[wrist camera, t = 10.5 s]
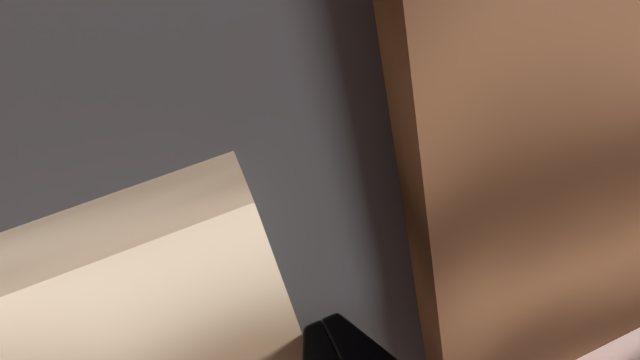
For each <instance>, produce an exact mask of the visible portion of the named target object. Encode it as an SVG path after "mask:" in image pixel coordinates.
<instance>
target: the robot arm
mask: <svg viewBox="0 0 640 360" xmlns="http://www.w3.org/2000/svg"><path fill="white" fill-rule="evenodd" d="M302 360H398V359H396V358H395V357H394V356H393V355H391V354H390V353H389V352H388V351H386V350H385V349H384V348H382V347H381V346H380V345H379V344H377V343H376V342H375V341H374V340H372V339H371V338H370V337H369V336H367V335H366V334H365V333H364V332H362V331H361V330H360V329H359V328H357V327H356V326H355V325H353V324H352V323H351V322H350V321H348V320H347V319H346V318H345V317H343V316H342V315H341V314H339V313H334V314H332V315H329V316H327V317H325V318H323V319H322V320H318V321H316V322H313V323H311V324H309V325H306V326H305V327H304V330H303V353H302Z"/></svg>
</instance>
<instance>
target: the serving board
mask: <svg viewBox="0 0 640 360" xmlns="http://www.w3.org/2000/svg"><path fill="white" fill-rule="evenodd" d="M373 6H374V12H375V19H376V26H377V33H378V40H379V46H380V53H381V60H382V67H383V73H384V80H385V87H386V94H387V101H388V107H389V114H390V121H391V128H392V134H393V141H394V148H395V155H396V162H397V168H398V175H399V182H400V189H401V195H402V202H403V209H404V216H405V223H406V229H407V236H408V243H409V250H410V256H411V263H412V270H413V277H414V284H415V290H416V297H417V304H418V311H419V317H420V324H421V331H422V338H423V345H424V351H425V358H426V360H576V359H578V358H580V357H582V356H584V355H586V354H588V353H590V352H592V351H593V350H595V349H597V348H599V347H601V346H603V345H605V344H607V343H609V342H611V341H613V340H615V339H617V338H619V337H621V336H623V335H625V334H627V333H629V332H631V331H633V330H635V329H637V328H639V327H640V0H373Z"/></svg>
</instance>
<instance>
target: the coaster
mask: <svg viewBox="0 0 640 360" xmlns="http://www.w3.org/2000/svg"><path fill="white" fill-rule="evenodd" d="M302 353H303V335H302V332H301V329H300V326H299V324H298V321H297V318H296V315H295V313H294V310H293V307H292V304H291V302H290V299H289V296H288V293H287V291H286V288H285V285H284V282H283V280H282V277H281V274H280V271H279V269H278V266H277V263H276V260H275V258H274V255H273V252H272V249H271V246H270V244H269V241H268V238H267V235H266V233H265V230H264V227H263V224H262V222H261V219H260V216H259V213H258V211H257V208H256V205H255V202H254V200H253V197H252V195H251V192H250V190H249V188H248V185H247V183H246V180H245V178H244V175H243V173H242V170H241V168H240V165H239V163H238V160H237V158H236V155H235V153H234V151H231V152H229V153H226V154H223V155H220V156H217V157H214V158H211V159H209V160H206V161H203V162H200V163H197V164H194V165H191V166H189V167H186V168H183V169H180V170H177V171H174V172H171V173H169V174H166V175H163V176H160V177H157V178H154V179H152V180H149V181H146V182H143V183H140V184H137V185H134V186H132V187H129V188H126V189H123V190H120V191H117V192H114V193H112V194H109V195H106V196H103V197H100V198H97V199H94V200H92V201H89V202H86V203H83V204H80V205H77V206H75V207H72V208H69V209H66V210H63V211H60V212H57V213H55V214H52V215H49V216H46V217H43V218H40V219H37V220H35V221H32V222H29V223H26V224H23V225H20V226H17V227H15V228H12V229H9V230H6V231H3V232H0V360H302Z"/></svg>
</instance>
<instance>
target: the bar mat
mask: <svg viewBox="0 0 640 360" xmlns="http://www.w3.org/2000/svg"><path fill="white" fill-rule="evenodd" d="M231 151H234V153H235V155H236V158H237V160H238V163H239V165H240V168H241V170H242V173H243V175H244V178H245V180H246V183H247V185H248V188H249V190H250V192H251V195H252V197H253V200H254V202H255V205H256V208H257V211H258V213H259V216H260V219H261V222H262V224H263V227H264V230H265V233H266V235H267V238H268V241H269V244H270V246H271V249H272V252H273V255H274V258H275V260H276V263H277V266H278V269H279V271H280V274H281V277H282V280H283V282H284V285H285V288H286V291H287V293H288V296H289V299H290V302H291V304H292V307H293V310H294V313H295V315H296V318H297V321H298V324H299V326H300V329H301V332H302V335H303V330H304V327H305V326H306V325H309V324H311V323H313V322H316V321H318V320H322V319H323V318H325V317H327V316H329V315H332V314H334V313H339V314H341V315H342V316H343V317H345V318H346V319H347V320H348V321H350V322H351V323H352V324H353V325H355V326H356V327H357V328H359V329H360V330H361V331H362V332H364V333H365V334H366V335H367V336H369V337H370V338H371V339H372V340H374V341H375V342H376V343H377V344H379V345H380V346H381V347H382V348H384V349H385V350H386V351H388V352H389V353H390V354H391V355H393V356H394V357H395V358H396V359H398V360H426V358H425V351H424V345H423V338H422V331H421V324H420V317H419V311H418V304H417V297H416V290H415V284H414V277H413V270H412V263H411V256H410V250H409V243H408V236H407V229H406V223H405V216H404V209H403V202H402V195H401V189H400V182H399V175H398V168H397V162H396V155H395V148H394V141H393V134H392V128H391V121H390V114H389V107H388V101H387V94H386V87H385V80H384V73H383V67H382V60H381V53H380V46H379V40H378V33H377V26H376V19H375V12H374V6H373V0H0V232H3V231H6V230H9V229H12V228H15V227H17V226H20V225H23V224H26V223H29V222H32V221H35V220H37V219H40V218H43V217H46V216H49V215H52V214H55V213H57V212H60V211H63V210H66V209H69V208H72V207H75V206H77V205H80V204H83V203H86V202H89V201H92V200H94V199H97V198H100V197H103V196H106V195H109V194H112V193H114V192H117V191H120V190H123V189H126V188H129V187H132V186H134V185H137V184H140V183H143V182H146V181H149V180H152V179H154V178H157V177H160V176H163V175H166V174H169V173H171V172H174V171H177V170H180V169H183V168H186V167H189V166H191V165H194V164H197V163H200V162H203V161H206V160H209V159H211V158H214V157H217V156H220V155H223V154H226V153H229V152H231Z"/></svg>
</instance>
